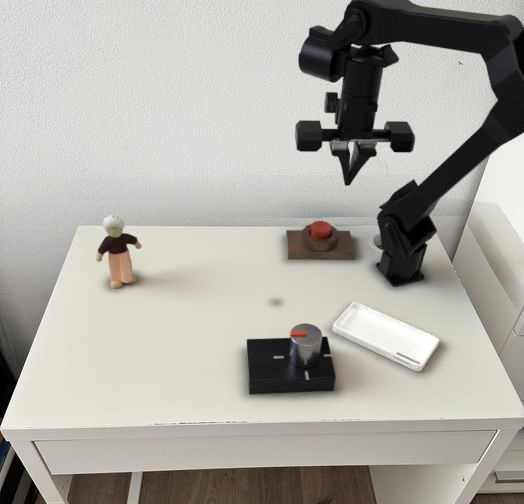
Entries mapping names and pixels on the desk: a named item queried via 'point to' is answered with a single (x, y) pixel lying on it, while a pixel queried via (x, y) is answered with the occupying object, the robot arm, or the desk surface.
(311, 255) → the control block
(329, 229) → the power button
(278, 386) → the panel
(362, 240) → the desk surface
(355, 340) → the phone case
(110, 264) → the grandmother figurine
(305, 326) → the hob knob
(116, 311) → the desk surface
